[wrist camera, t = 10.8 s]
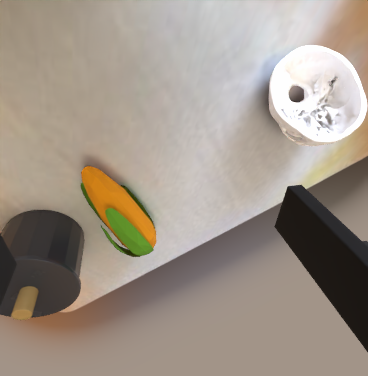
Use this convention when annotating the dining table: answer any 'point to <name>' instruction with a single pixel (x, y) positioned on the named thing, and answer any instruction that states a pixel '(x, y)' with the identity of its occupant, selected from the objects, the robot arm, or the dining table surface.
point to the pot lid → (39, 288)
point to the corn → (119, 212)
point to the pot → (45, 237)
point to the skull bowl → (317, 96)
